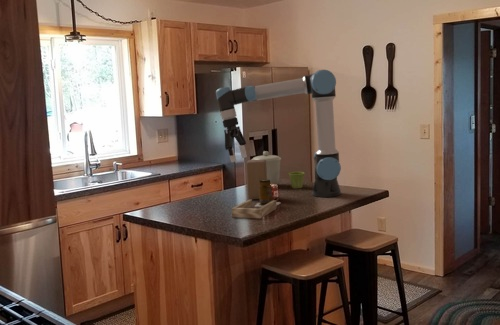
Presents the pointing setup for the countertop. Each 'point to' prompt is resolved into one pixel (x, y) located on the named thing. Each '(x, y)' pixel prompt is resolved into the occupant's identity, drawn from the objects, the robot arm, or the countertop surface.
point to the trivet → (261, 205)
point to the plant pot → (296, 179)
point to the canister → (271, 166)
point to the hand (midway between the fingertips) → (239, 159)
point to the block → (255, 176)
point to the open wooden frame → (252, 210)
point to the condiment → (265, 192)
